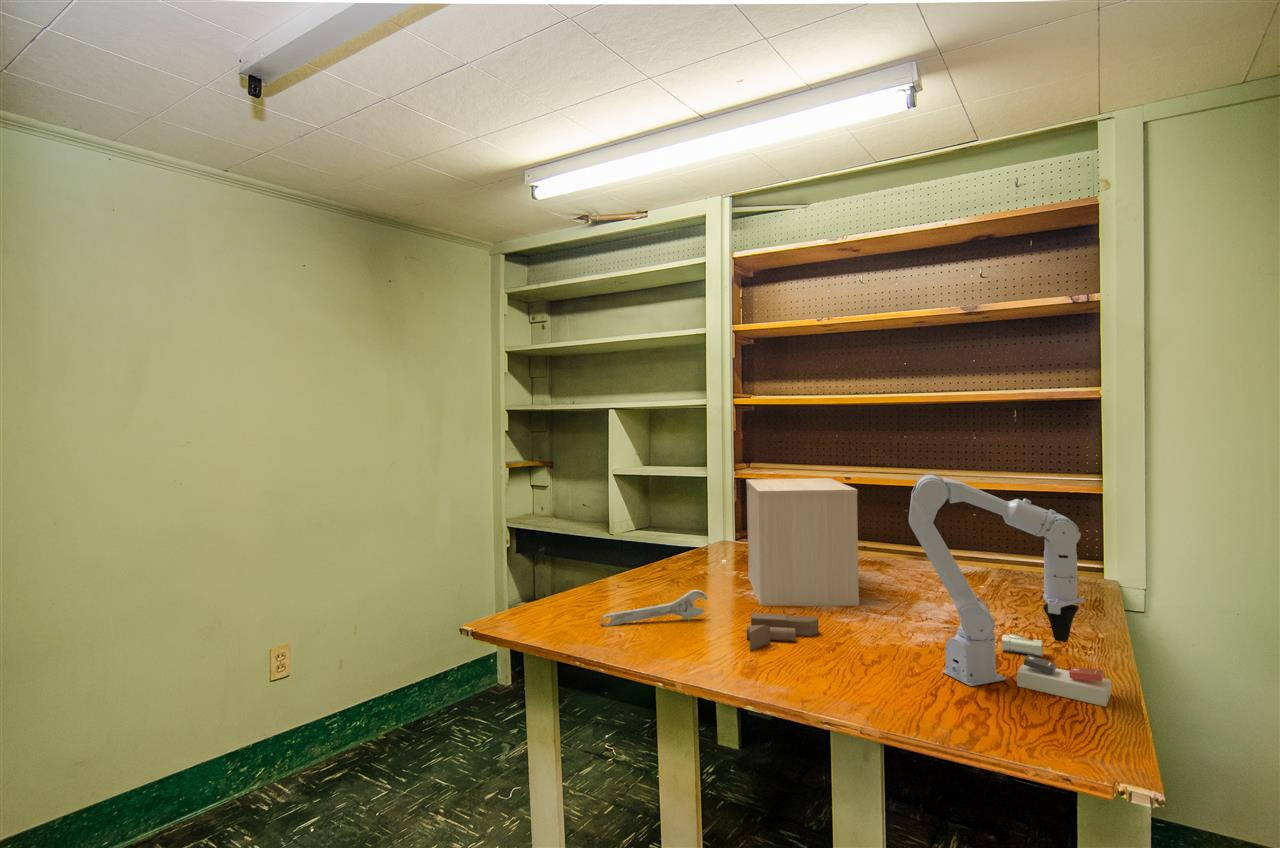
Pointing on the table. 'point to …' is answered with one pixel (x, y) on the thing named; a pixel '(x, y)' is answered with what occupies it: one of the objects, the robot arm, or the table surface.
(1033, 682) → the rocker switch panel
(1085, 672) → the red rocker
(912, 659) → the table surface
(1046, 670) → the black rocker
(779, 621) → the wooden block set
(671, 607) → the wrench
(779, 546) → the beige wooden block
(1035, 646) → the pipe fitting
